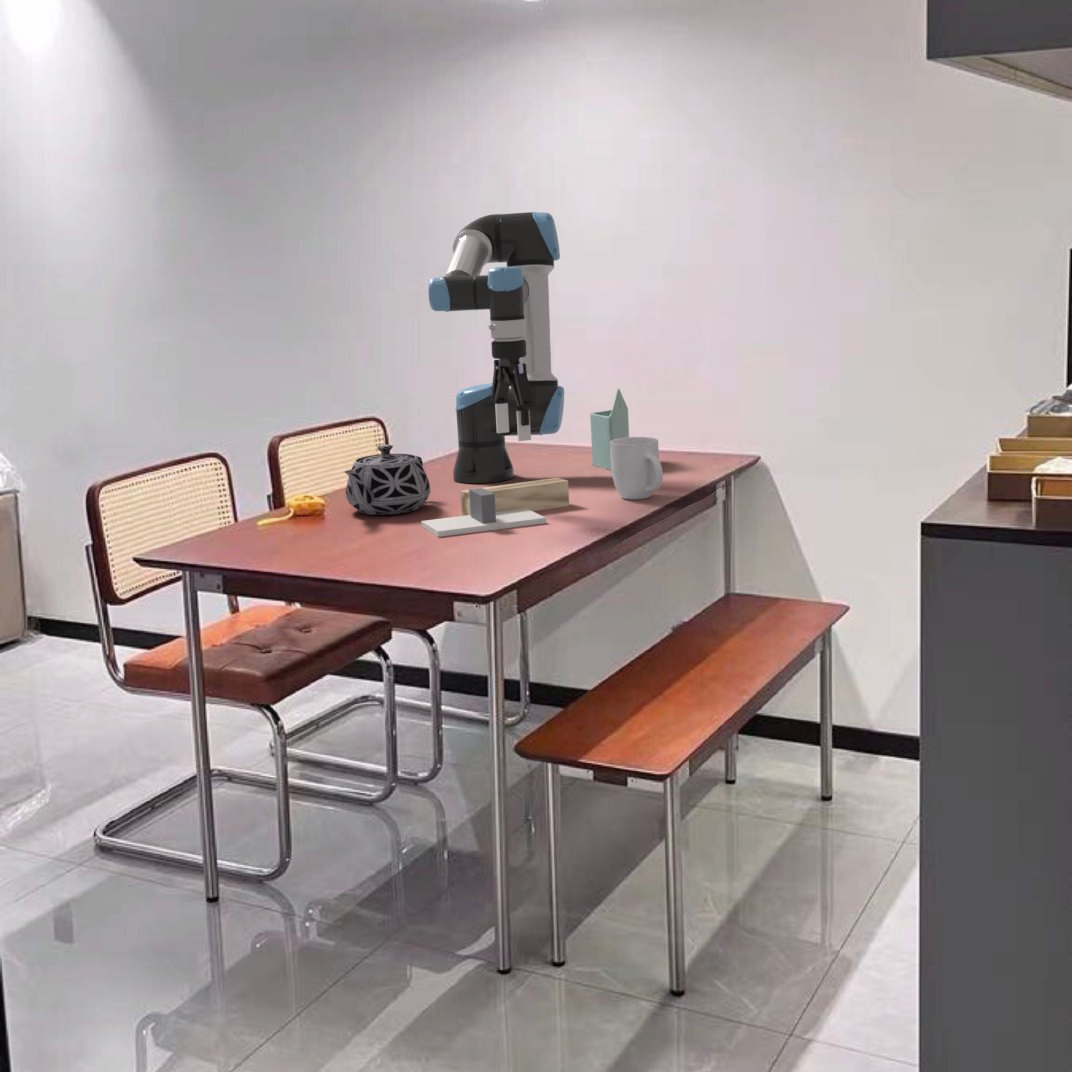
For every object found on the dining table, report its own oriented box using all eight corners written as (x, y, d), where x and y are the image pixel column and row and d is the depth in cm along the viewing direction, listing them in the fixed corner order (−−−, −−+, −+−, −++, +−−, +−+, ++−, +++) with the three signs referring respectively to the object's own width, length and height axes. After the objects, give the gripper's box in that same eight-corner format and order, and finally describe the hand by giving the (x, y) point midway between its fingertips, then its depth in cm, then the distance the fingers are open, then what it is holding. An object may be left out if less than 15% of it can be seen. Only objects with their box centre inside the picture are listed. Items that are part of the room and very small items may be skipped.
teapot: (313, 523, 326) (307, 456, 322) (388, 496, 352) (383, 434, 349) (385, 527, 317) (380, 458, 314) (457, 499, 344) (453, 436, 340)
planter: (601, 459, 388) (598, 384, 384) (630, 459, 385) (627, 384, 381) (583, 470, 373) (580, 393, 368) (613, 471, 370) (610, 392, 366)
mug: (680, 499, 331) (679, 441, 329) (641, 506, 326) (639, 448, 323) (640, 490, 344) (638, 435, 341) (602, 497, 338) (599, 441, 335)
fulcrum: (421, 526, 316) (419, 493, 314) (526, 513, 324) (524, 481, 322) (438, 537, 305) (435, 502, 303) (546, 523, 313) (544, 490, 311)
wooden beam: (462, 517, 325) (460, 490, 323) (559, 503, 335) (557, 477, 333) (471, 521, 320) (469, 494, 319) (569, 507, 330) (568, 480, 329)
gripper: (473, 337, 329) (478, 431, 334) (512, 344, 306) (517, 445, 311) (505, 334, 332) (510, 427, 336) (545, 341, 309) (550, 441, 314)
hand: (513, 436), depth 324 cm, fingers open, 13 cm apart
